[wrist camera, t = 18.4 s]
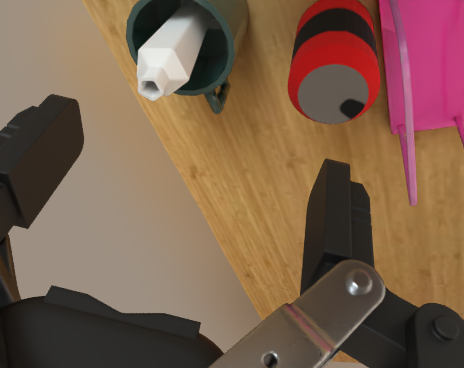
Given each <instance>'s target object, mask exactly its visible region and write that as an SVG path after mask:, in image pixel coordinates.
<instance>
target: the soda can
mask: <svg viewBox="0 0 464 368" xmlns="http://www.w3.org/2000/svg"><path fill="white" fill-rule="evenodd" d="M379 89H380V73H379V66H378V58H377V51H376V43H375V36H374V28H373V22H372V18H371V16H370V14H369V12H368V11H367V9H366V8H365V7H364V6H363V5H362V4H361V3H360V2H358V1H356V0H320V1H318V2H316V3H314V4H313V5H312V6H311V7H309V8H308V9H307V11H306V12H305V13H304V14H303V16H302V18H301V19H300V21H299V24H298V27H297V33H296V38H295V44H294V50H293V56H292V61H291V67H290V73H289V78H288V94H289V97H290V100H291V102H292V104H293V105H294V107H295V108H296V109H297V110H298V111H299V112H300V113H301V114H302V115H304V116H305V117H306V118H309V119H311V120H313V121H316V122H320V123H323V124H339V123H344V122H347V121H350V120H352V119H355V118H357V117H358V116H360V115H362V114H363V113H364V112H365V111H367V110H368V109H369V108H370V106H371V105H372V104H373V103H374V101H375V99H376V97H377V96H378V92H379Z"/></svg>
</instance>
